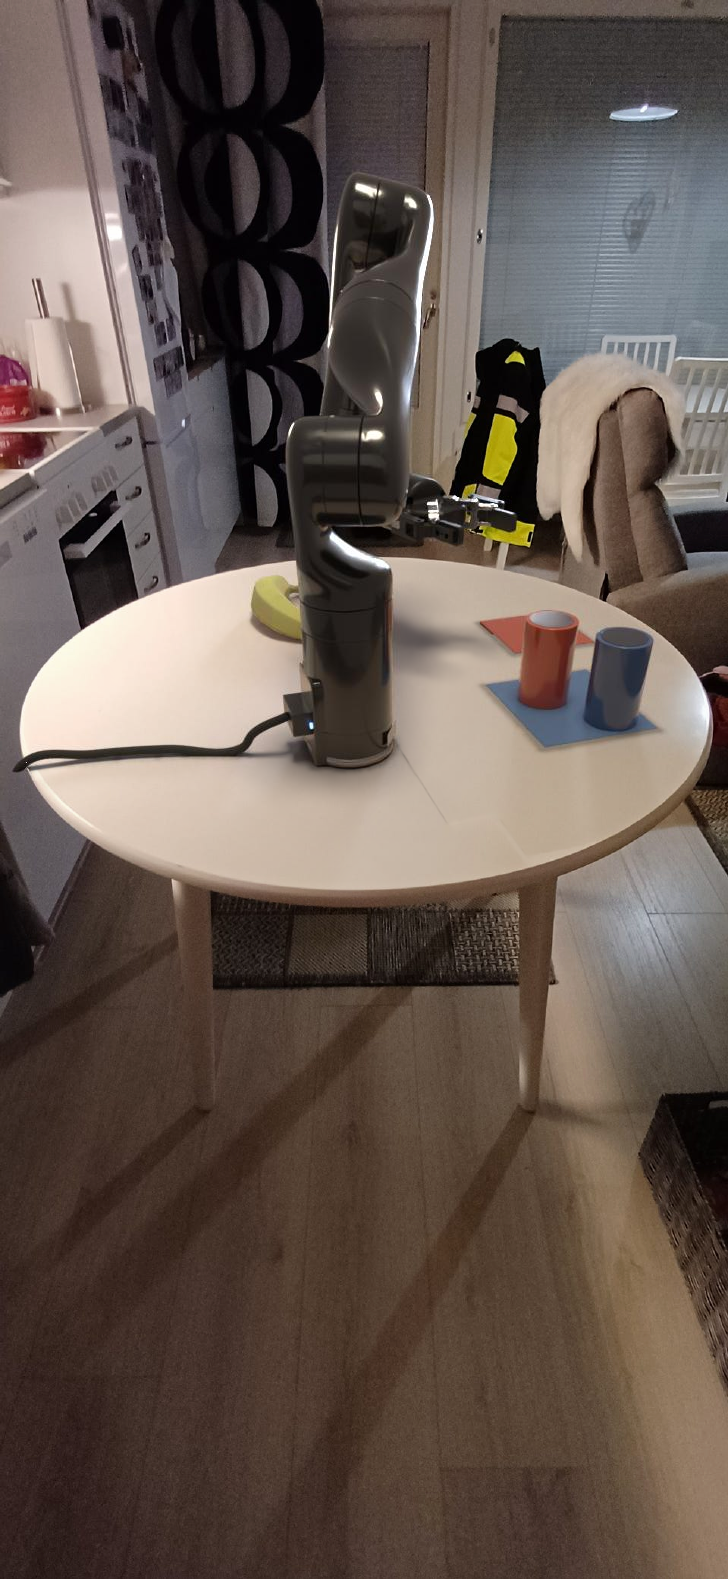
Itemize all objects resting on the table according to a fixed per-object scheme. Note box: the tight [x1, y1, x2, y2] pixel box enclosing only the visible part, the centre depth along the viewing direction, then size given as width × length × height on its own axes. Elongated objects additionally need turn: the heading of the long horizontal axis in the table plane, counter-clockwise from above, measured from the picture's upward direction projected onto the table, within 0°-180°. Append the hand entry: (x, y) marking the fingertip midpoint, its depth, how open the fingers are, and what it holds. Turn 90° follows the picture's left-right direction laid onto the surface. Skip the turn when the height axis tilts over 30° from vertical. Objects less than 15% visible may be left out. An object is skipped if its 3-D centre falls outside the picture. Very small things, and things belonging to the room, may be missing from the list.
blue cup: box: [583, 626, 655, 731], centre depth 86 cm, size 6×6×10 cm
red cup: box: [517, 609, 580, 710], centre depth 91 cm, size 6×6×10 cm
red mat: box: [479, 614, 595, 654], centre depth 111 cm, size 12×12×1 cm
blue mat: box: [485, 669, 658, 748], centre depth 92 cm, size 14×16×1 cm
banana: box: [250, 574, 302, 641], centre depth 117 cm, size 14×6×20 cm
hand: (488, 530), depth 91 cm, fingers open, 8 cm apart
